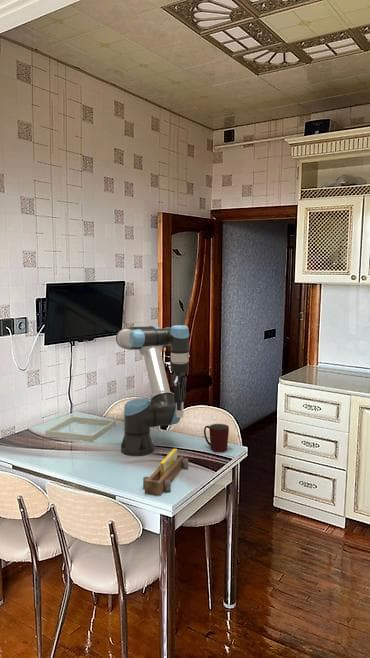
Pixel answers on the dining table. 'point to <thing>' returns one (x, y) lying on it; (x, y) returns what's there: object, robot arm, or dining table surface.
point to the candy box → (168, 462)
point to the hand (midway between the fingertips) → (179, 417)
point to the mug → (217, 437)
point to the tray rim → (54, 433)
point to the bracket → (163, 478)
